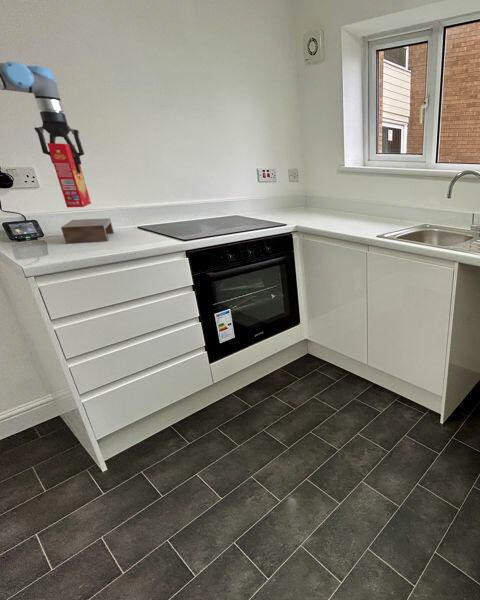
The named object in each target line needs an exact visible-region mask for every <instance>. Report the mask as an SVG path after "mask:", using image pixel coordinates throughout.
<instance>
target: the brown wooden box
mask: <svg viewBox="0 0 480 600" xmlns="http://www.w3.org/2000/svg"><path fill="white" fill-rule="evenodd" d="M113 227H114V226H113V224H112V220H111V218H110V217H109V218H84V219H83V218H82V219H71V220H70V221H69V222H67V223H65V224H64V225H62V226H61V227H60V229H61V233H62V236H63V239H64V242H65V245H68V244H85V242H86V243H99V242H101V241H102V242H108V241H109V238H108V234H114V233H115V231H114V228H113Z"/></svg>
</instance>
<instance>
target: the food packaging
mask: <svg viewBox="0 0 480 600" xmlns="http://www.w3.org/2000/svg"><path fill="white" fill-rule="evenodd" d="M46 145H47V148H48V152H49V151H50V154H51V157H52V160H53V163H52V164H53V167H54V170H55V173H56V176H57V179H58V184H59V186H60V189H61V192H62V196H63V199H64V202H65V205H66V208H84V207H86V206H89V205H91V204H92V202H91V198H90V195H89V191H88V187H87V184H86V180H85V177H84V173H83V170H82V167H81V165H79V168H80V171H81V173H77V170H76V166H75V163H74V159H73V157H75V156H74V153H73V152H72V150H71V149H70V146H69V144H67V143H58V142H57V143H56V142H55V143H50V142H46ZM73 145H74V147H75V149H76V144H73ZM76 150H77V149H76ZM51 157H50V158H51ZM52 160H51V161H52Z"/></svg>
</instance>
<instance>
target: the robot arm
mask: <svg viewBox="0 0 480 600" xmlns="http://www.w3.org/2000/svg"><path fill="white" fill-rule="evenodd" d="M0 90H1V91H10V92H11V91H12V92H18V93H27V94H33V95H34V99H35V102H36V105H37V109H38V110H39V111H40V112H39V115H40V118H41V121H42V125H41V126H38V127H36V126H35V127H34V128H33V129H34V130H35V132H36V134H37V137H38V140H39V143H40V147H41V151H42V153H43V154H44V155H48V156H49V157H50V160H51V163H52V164H53V160H52V157H51V154H50V151H49V148H48V144H47V142H46V138H45V135H44V133H45V132H47V134H48V135H49V143H56V139H57V138H63V140H64V141H65V142H66V144H69V146H70V149H71V150H72V152H73V153H74V156H75V157H73V159H74V163H75V166H76V170H77V173H81V171H80V168H79V165H80V166H81V165H82V160H81V156H84V155H85V151H84V148H83V146H82V142H81V138H80V131H79V130H78V129H75V128H71V127H70V126H69V124H68V121H67V117H66V113H64V112H65V109H64V106H63V103H62V100H61V97H60V96H61V95H60V93H59V89H58V86H57V81H56V78H55V76H54V74H53V71H52V70H51V69H49V68H47V67H43V66H37V65H24V64H22V63H20V62H17V61H6V62H0ZM70 132H71V134H72V135H73V137H74V141H75V144H73V142H72V141H71V139H70V136H69V134H70ZM74 145H76V146H75V147H74ZM76 147H77V149H75V148H76Z"/></svg>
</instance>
